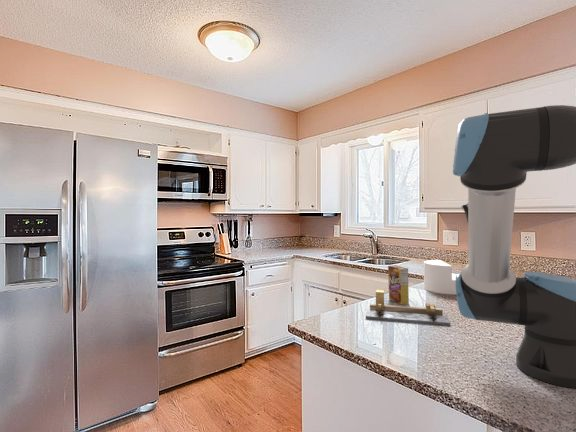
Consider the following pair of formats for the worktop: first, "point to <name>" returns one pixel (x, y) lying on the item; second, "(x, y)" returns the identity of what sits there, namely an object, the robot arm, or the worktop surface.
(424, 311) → the beam
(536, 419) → the worktop surface
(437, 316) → the plate
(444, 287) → the container
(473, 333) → the worktop surface
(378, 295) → the jaw
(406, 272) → the candy box
